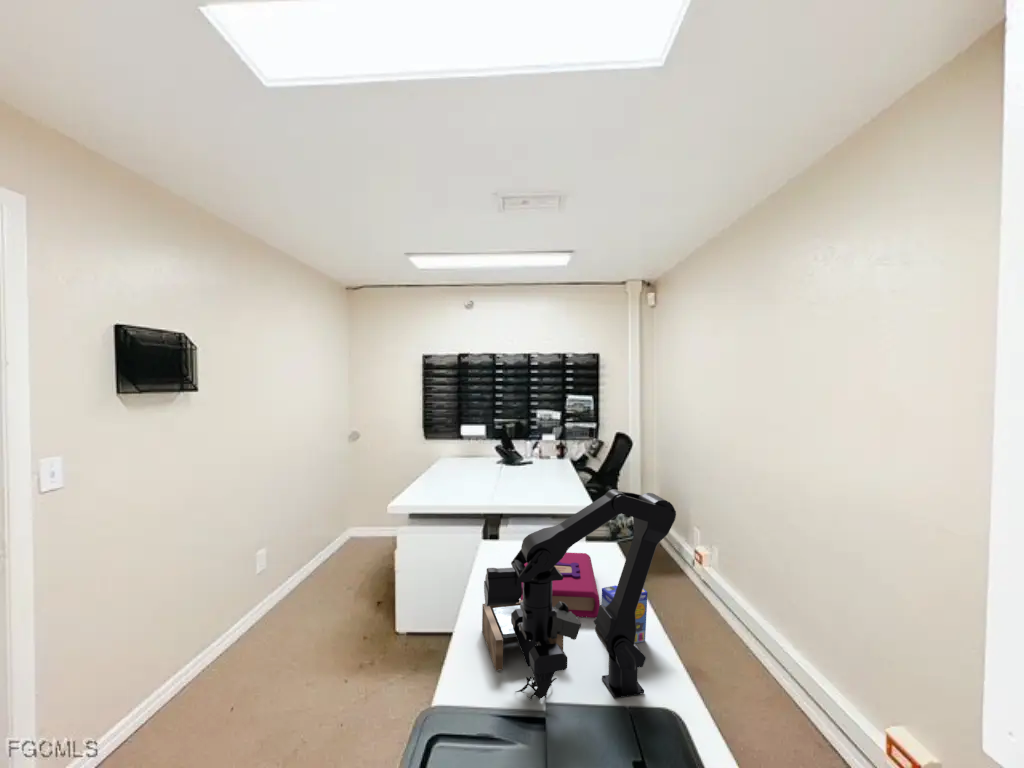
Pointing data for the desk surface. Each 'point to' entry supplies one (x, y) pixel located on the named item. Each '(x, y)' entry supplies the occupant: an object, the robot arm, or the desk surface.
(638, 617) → the ink cartridge box
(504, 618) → the trapdoor
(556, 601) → the book
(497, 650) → the wooden stand
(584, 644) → the desk surface
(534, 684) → the creature
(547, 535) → the robot arm
